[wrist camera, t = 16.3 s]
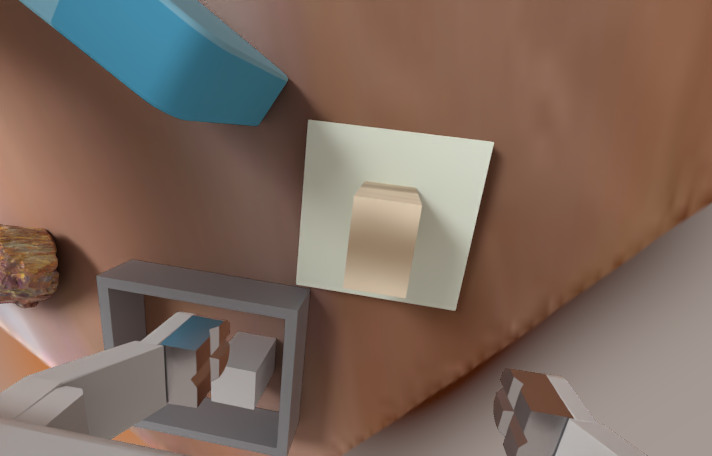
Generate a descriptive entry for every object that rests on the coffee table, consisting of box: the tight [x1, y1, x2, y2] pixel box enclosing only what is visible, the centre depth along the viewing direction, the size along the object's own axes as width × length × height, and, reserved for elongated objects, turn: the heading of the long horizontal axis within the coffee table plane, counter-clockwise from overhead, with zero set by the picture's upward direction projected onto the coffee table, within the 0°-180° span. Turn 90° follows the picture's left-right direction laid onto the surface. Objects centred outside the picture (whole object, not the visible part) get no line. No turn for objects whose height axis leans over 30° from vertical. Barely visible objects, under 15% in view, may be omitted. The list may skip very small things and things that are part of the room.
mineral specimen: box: [0, 224, 59, 308], centre depth 31 cm, size 12×8×7 cm
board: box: [296, 120, 494, 311], centre depth 27 cm, size 14×14×2 cm
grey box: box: [211, 331, 276, 410], centre depth 31 cm, size 4×4×5 cm
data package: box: [19, 0, 288, 126], centre depth 21 cm, size 12×4×12 cm, turn 51°
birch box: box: [343, 181, 422, 298], centre depth 23 cm, size 6×4×7 cm, turn 173°
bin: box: [96, 259, 310, 456], centre depth 32 cm, size 18×16×4 cm
